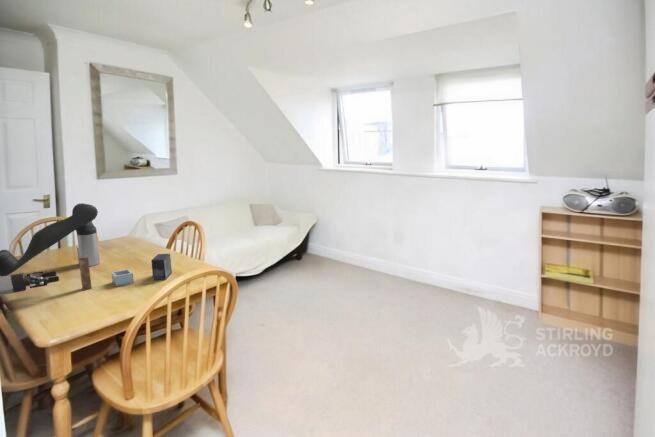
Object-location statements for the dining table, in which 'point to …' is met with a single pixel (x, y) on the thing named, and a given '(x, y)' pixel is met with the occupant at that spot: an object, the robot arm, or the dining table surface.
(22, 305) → the dining table surface
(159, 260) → the small box
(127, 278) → the pale blue storage bin
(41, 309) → the dining table surface
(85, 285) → the tall wooden pillar
